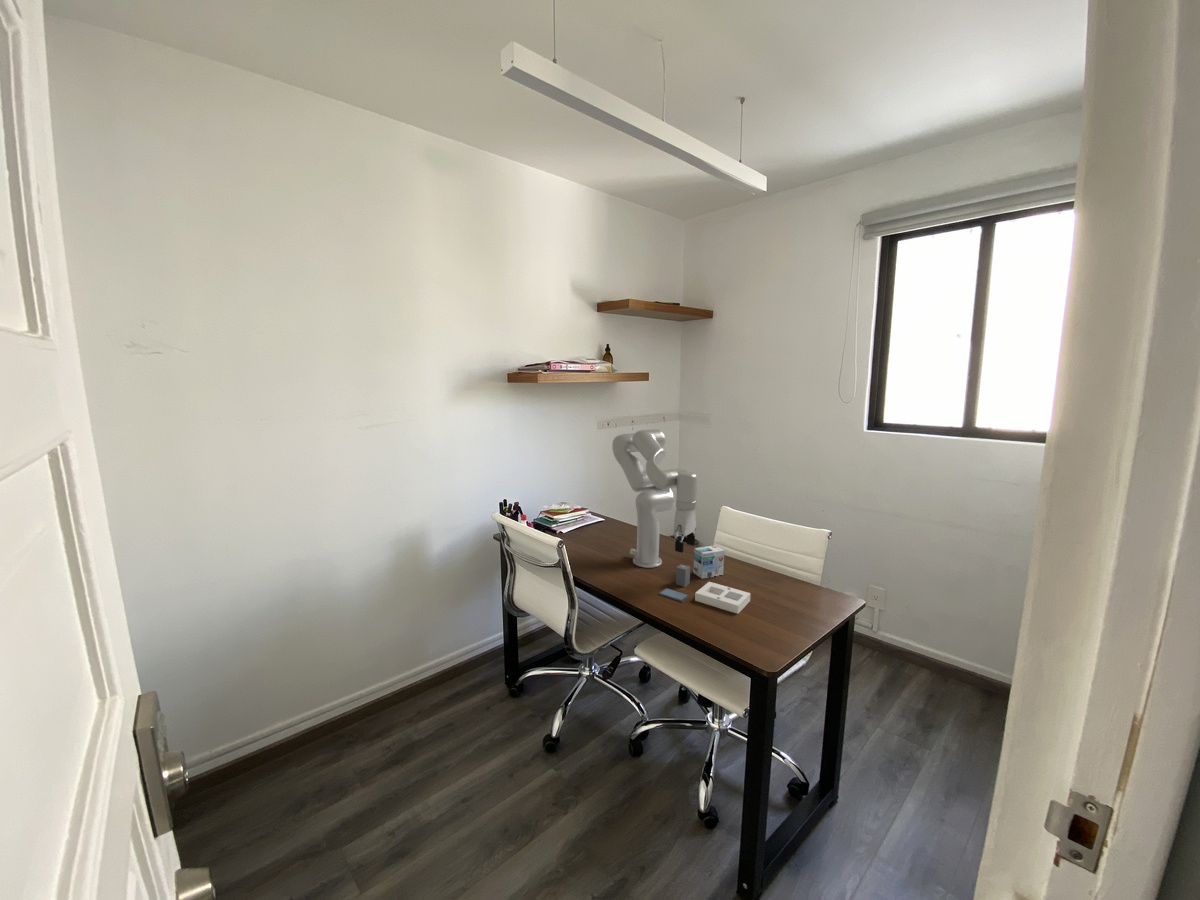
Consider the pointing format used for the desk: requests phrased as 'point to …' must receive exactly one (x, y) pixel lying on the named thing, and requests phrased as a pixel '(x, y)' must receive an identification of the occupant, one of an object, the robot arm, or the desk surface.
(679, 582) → the charger
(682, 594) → the phone
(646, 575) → the desk surface
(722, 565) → the light bulb box
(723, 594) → the outlet plate
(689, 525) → the robot arm
